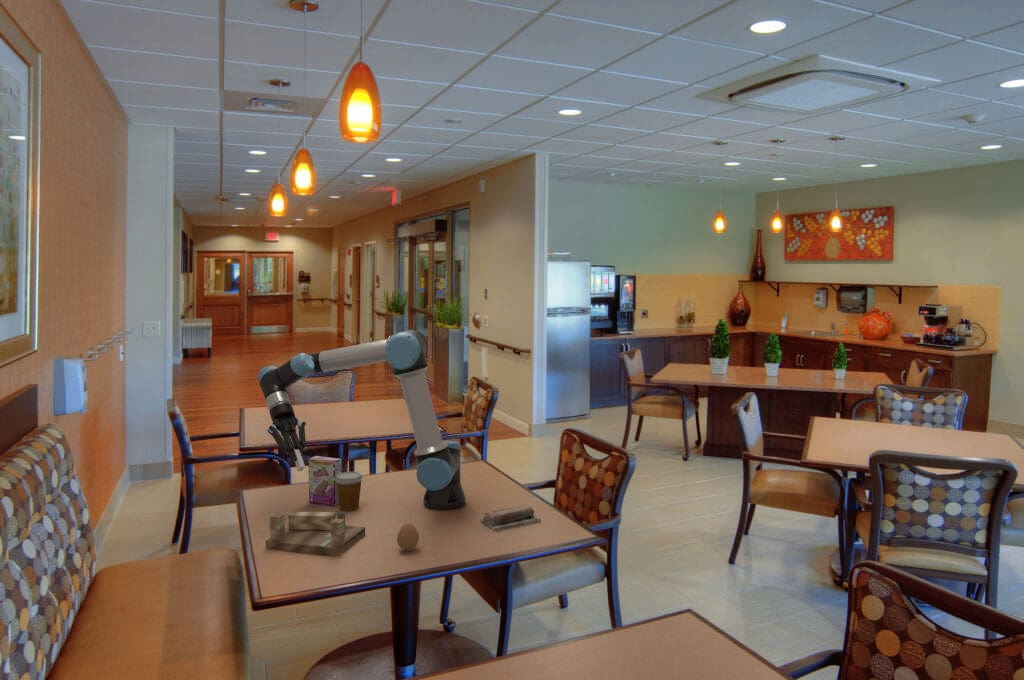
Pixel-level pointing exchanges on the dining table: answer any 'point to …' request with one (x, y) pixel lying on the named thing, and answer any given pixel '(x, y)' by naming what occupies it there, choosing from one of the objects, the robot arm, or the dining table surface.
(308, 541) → the wooden block assembly
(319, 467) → the candy bar box
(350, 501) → the disposable coffee cup
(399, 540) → the egg
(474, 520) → the dining table surface
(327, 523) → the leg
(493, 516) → the stapler
